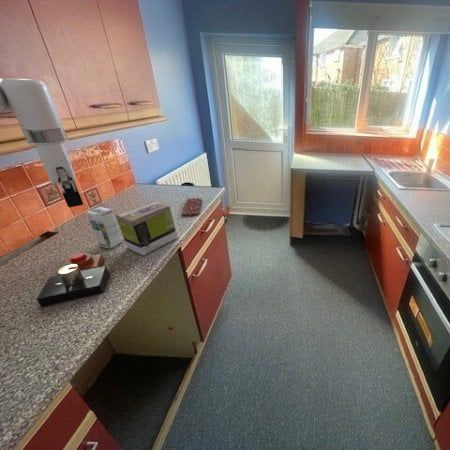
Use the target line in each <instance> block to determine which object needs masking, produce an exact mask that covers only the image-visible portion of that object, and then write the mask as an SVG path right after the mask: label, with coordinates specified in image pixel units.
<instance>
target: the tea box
mask: <svg viewBox="0 0 450 450" xmlns="http://www.w3.org/2000/svg"><path fill="white" fill-rule="evenodd" d="M115 219H116V222H117V225H118V227H119V230H120V233H121V235H122V237H123V240H124V242H125V245H126V247H127V249H129V250H131V251H133V252H135V253H136V254H138V255H141V256H146V255H147V254H149V253H151V252H153V251H155V250H157V249H158V248H161V247H163V246H164V245H167V244H168V243H171V242H172V241H174V240H176V239H178V233H177V229H176V226H175V221H174V218H173V214H172V210H171V207H170V205H166V204H163V203H160V202H157V201H155V200H153V201H150V202H147V203H144V204H142V205H140V206H136V207H134V208H130V209H128V210H125V211H122V212H120V213H117V214H115Z"/></svg>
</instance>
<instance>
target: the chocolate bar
mask: <svg viewBox="0 0 450 450" xmlns="http://www.w3.org/2000/svg"><path fill="white" fill-rule="evenodd" d="M201 204H202V198H201V197H196V198H195V197H193V198H190V197H188V198H186V202H185V204H184V208H183V210H182V213H181V215H182V217H186V216H187V217H192V216H199V214H200V209H201Z"/></svg>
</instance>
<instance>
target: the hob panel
mask: <svg viewBox="0 0 450 450" xmlns="http://www.w3.org/2000/svg"><path fill="white" fill-rule="evenodd" d="M81 274H82V276H83V280H82V281H81V282H80V283H78V284H75V285H72V286H66V285H65V284H64V283H63V281H62V279H61V277H60V275H58V274H57V275H52V276H49V277H48V279H47V281H46V282H45V284H44V286H43V287H42V289H41V291H40V292H39V294H38V296H37V298H36V301H37V302H38V304H39V306H40V307H41V308H43V307H48V306H52V305H57V304H61V303H65V302H69V301H73V300H78V299H83V298H87V297H91V296H96V295H100V294H103V293H104V290H105V287H106V283H107V280H108V278H109V271H108V269H107V266H106V265H103V266H101V267H98V268H92V269H87V270H82V271H81Z"/></svg>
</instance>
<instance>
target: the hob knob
mask: <svg viewBox="0 0 450 450" xmlns="http://www.w3.org/2000/svg"><path fill="white" fill-rule="evenodd" d="M61 267H62V266H61ZM61 267H60V268H59V269H58V271H57V274H58V273H59V275H60V277H61V279H62V281H63V283H64V284H65V285H66V286H72V285H75V284H78V283H80V282H81V281H82V280H83V276H82V274H81V271H80V269H79V267H78V265H76V264H71V265H67V266H64V267H62V268H61Z"/></svg>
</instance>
